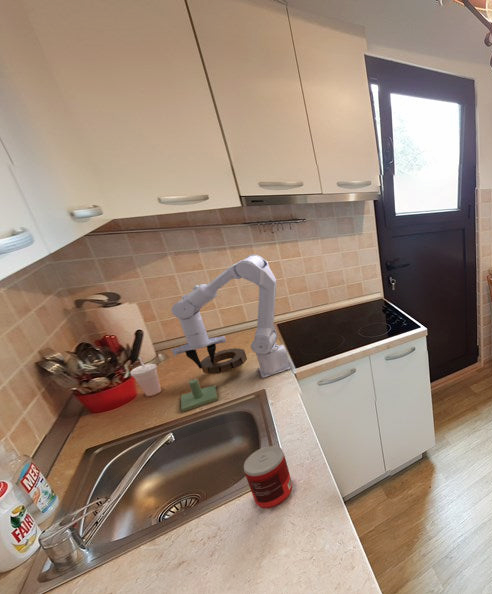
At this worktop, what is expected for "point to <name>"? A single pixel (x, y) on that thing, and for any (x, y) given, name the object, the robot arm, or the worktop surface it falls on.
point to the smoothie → (147, 378)
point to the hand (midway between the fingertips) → (207, 365)
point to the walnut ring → (216, 368)
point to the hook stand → (197, 396)
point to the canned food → (268, 476)
